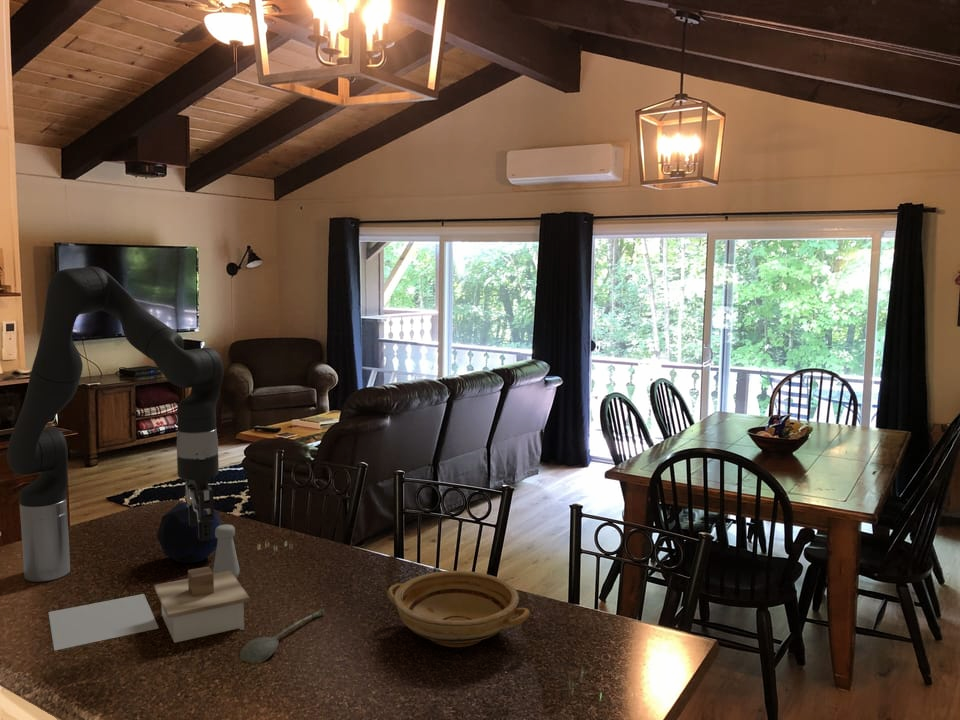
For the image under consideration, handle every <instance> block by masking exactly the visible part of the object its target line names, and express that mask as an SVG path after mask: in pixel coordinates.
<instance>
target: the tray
mask: <svg viewBox="0 0 960 720" xmlns="http://www.w3.org/2000/svg"><path fill="white" fill-rule="evenodd" d="M48 618H49V623H50V624H49V626H50V631H51V638H52V644H53V645H52V646H53V651H54V652H55V651H58V650H64V649H70V648H74V647H79V646H83V645H88V644H92V643H97V642H101V641H106V640H110V639H115V638H120V637H121V638H122V637H125V636H131V635H135V634H139V633H143V632H147V631H148V632H149V631H152V630H157V629H159V628H160V627H159V625H158V623H157V620H156V618H155V616H154V613H153V611H152V609H151V606H150V604H149V603H148V600H147V598H146V595H145V593H141V594H135V595H131V596H130V595H129V596H125V597H121V598H115V599H110V600H105V601H100V602H94V603H90V604H84V605H80V606H79V605H78V606H72V607H68V608H64V609H63V608H62V609H57V610H53V611H49V612H48Z"/></svg>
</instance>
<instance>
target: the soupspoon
mask: <svg viewBox="0 0 960 720" xmlns="http://www.w3.org/2000/svg"><path fill="white" fill-rule="evenodd" d="M324 616H325V610H323V608H319V609H318V610H317V611H316V612H314V613H311V614H310V615H308V616H306V617H304V618H302V619H300V620H299V621H296V622H295V623H293V624H291V625H290V626H288V627H286V628H285V629H282V631H280V632H278V633H277V634H276V635H274V636H261V637H257V638H254V639H251V640H250V641H248V642H247V643H245V645H244V646H243V647H242V649H241V650H240V651H239V658H240V659H241V661H243V662H246V663H249V662H250V663H251V664H262V663H264V662H265V661H267V660H268V659H269V658H270V657H272V655H273V654H274V653H275V652H276V650H277V649H278V647H279V643H280V642H279V640H278V639H279V638H280V637H282V636H283V635H285V633H287V632H289V631H290V630H292V629H294V628H295V627H297V626H298V625H300V624H302V623H304V622H306V621H308V620H309V619H314V618H318V617H319V618H320V617H324Z"/></svg>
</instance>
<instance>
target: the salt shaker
mask: <svg viewBox="0 0 960 720" xmlns="http://www.w3.org/2000/svg"><path fill="white" fill-rule="evenodd" d="M235 536H236V528H235V526H234V525H233V524H222V525H220V526H218V527H217V528H216V529H215V537H216V538H218V542H217V548H216V550H215V555H214V556H215V557H214V561H213V566H212V567H213V569H212V572H213V574H216V573H221V572H226V571H231V572H232V574H233V575H234V576H235V578H236V579H237V580H238V578H239V575H240V570H241V569H240V565H239V561H238V560H239V559H238V557H237V551H236V546H235V542H234V537H235Z"/></svg>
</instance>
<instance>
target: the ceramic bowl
mask: <svg viewBox="0 0 960 720" xmlns="http://www.w3.org/2000/svg"><path fill="white" fill-rule="evenodd" d="M393 592H395V593H393ZM386 595H387V598H388V600H389V601H390V602H391V603H392V604H393V605H394V606H395V607H396V608H397V609H396V610H397V613H398V615H399V618H400V619H401V621H402V622H403V623H404V625H405V626H406V627H408V628H409V630H410V631H411V632H413V633H414V634H416V635H418V636H420V637H422V638H425V639H427V640H430V641H432V642H434V643H435V644H438V645H439V646H443V647H444V646H445V647H448V648H450V647H451V648H463V647H464V648H465V647H470V646H473V645H475V644H478V643H479V642H481V641H483V640H485V639H488V638H490V637H493V636H495V635H497V634H499V633H500V632H501V631H502V630H504V629H505V630H506V629H508V628H512V627H515V626H518V625H521V624H522V623H524V622H525V621H526V620H527V619H528V618H529V617H530V614H531V613H530V610H529V609H528V608H527V607H517V606H518V604H519V601H520V596H519V592H518V591H517V589H516V588H515V587H514V586H513V585H512V584H511V583H509V582H507V581H506V580H504V579H502V578H499V577H497V576H494V575H490V574H488V573H487V574H486V573H482V572H477V571H466V570H446V571H437V572H435V571H434V572H430V573H425V574H422V575H419V576H415V577H413V578H410V579H408V580H407V581H406V582H404V583H397V584H394V585H391V586H390V587H389V588H388V589H387V592H386Z"/></svg>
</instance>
